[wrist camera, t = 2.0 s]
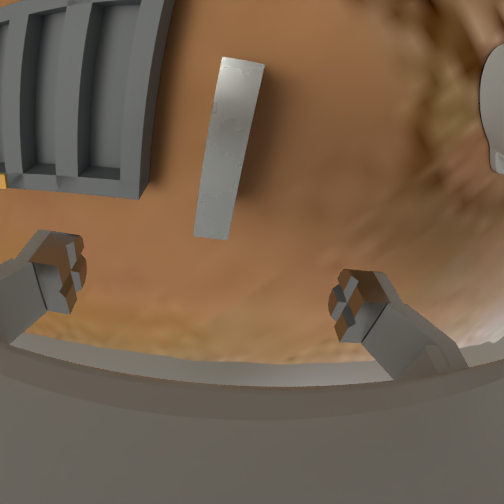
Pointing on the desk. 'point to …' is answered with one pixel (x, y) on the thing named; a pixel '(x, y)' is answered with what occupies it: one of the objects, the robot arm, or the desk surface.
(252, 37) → the desk surface
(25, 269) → the robot arm
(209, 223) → the panel
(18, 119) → the rack
